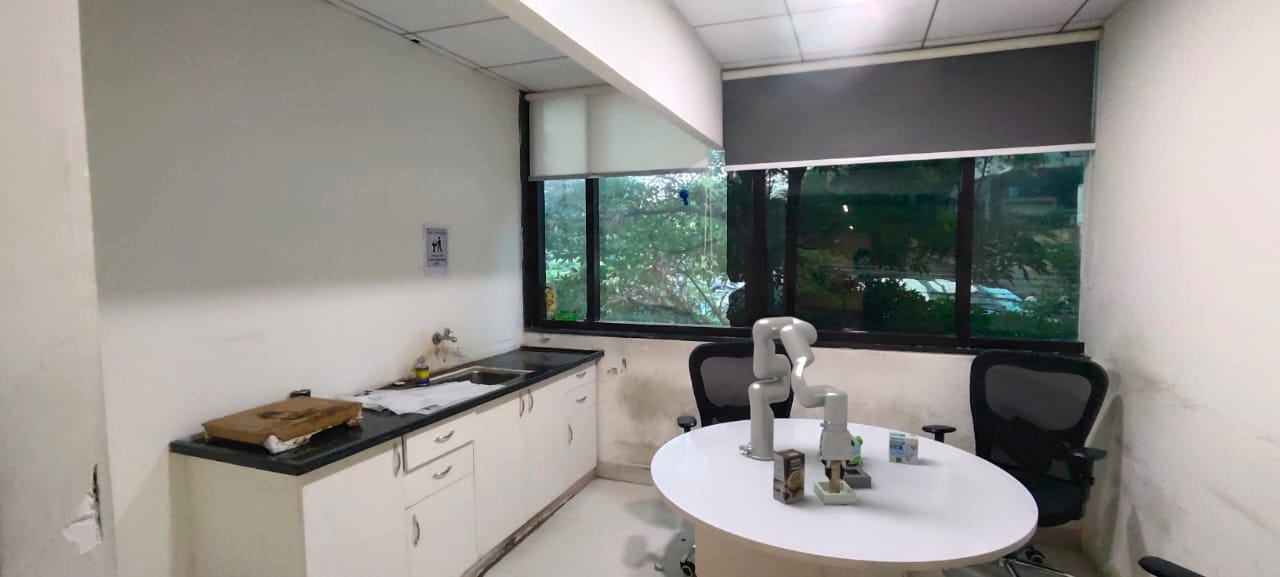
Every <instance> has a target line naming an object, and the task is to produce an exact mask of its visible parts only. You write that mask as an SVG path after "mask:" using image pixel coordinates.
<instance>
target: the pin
mask: <svg viewBox="0 0 1280 577" xmlns="http://www.w3.org/2000/svg"><path fill="white" fill-rule="evenodd" d="M841 464H842V460H840V461H831V463H830V468H831V479H828V481H829V493H840V465H841Z"/></svg>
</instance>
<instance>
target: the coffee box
mask: <svg viewBox="0 0 1280 577" xmlns="http://www.w3.org/2000/svg"><path fill="white" fill-rule="evenodd" d="M805 471H806V454H805V453H804V452H802V451H800V450H796V449H794V448H790V449H785V450H781V451H776V452H775V453H774V459H773V481H772V482H773V484H772V485H773V486H772V498H773V499H776V500H778V501H779V502H781V503H783V504H784V505H786V504H789V503H793V501H794V502H797V501H799V500H804V499H805V480H806V479H805V476H806V475H805V474H806V473H805Z"/></svg>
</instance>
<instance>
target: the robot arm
mask: <svg viewBox="0 0 1280 577" xmlns="http://www.w3.org/2000/svg"><path fill="white" fill-rule="evenodd" d="M774 339H775V340H776V339H780V340H781V343H782V344H783V347H784V348H785V351H786V353H787V355H788V357H789V358H788V357H787V356H786V355H785V354H779V353H778V354H777V353H776V344H775V342H774V341H773V340H774ZM817 339H818V333H817V330H816V328H815V327H814V325H813V324H811V323H810V322H807V321H804V320H802V319H799V318H797V317H793V316H780V317H779V316H778V317H765V318H760V319H758V320H756V321H755V323H753V326H752V340H753V344H754V345H753V363H752V368H753V374H754V376H755V377H756V378H758V379H763V380H758V381H754V382H753V383H751V384H750V385H749V386H748V391H747V392H748V398H749V405H750V441H749V442H748V443H747V444H746V445H745V444H739V446H738V447H739V448H738V450H740V451H741V450H742V451H743V452H746V455H747V456H748V458H751V459H753V460H757V461H758V460H759V461H771V460H774V453H775V452H777V450H775V449H774V446H775V444H774V440H775V438H774V437H775V436H774V435H775V433H774V432H775V419H774V418H775V415H774V411H773V410H772V408H771V407H770V406H771V405H770V404H773V403H781V402H784V401H787V399H788V398H789V395H790V391H791V389H792V391H793V393H794V396H795V397H796V400H797V401H798V403H799V404H800V405H801V406H802V407H803V408H805V409H815V408H823V407H824V408H823V410H824V414H823V417H824V418H823V422H820V424H819V427H820V428H822V429H821V432H820V440H819V446H818V447H819V450H818V452H817V453H816V455H815V456H814V458H815V461H816V460H817V461H818V462H820V463H821V464H822V465H823V466H824V475H825V477H827V479H828V480H829V479H831V468H830V463H831V461H840V460H842V464H841V465H840V478H841V479H843V476H844V473H845V468H846V465H847V464H848V465H850V464H849V462H850V461H852V460H854V459H855V457H854V455H853V454H852V445H851V436H850V434H851V432H850V430H849V429H848V408H849V407H848V405H849V404H848V403H849V401H848V400H849V399H848V394H847V392H845V391H843V390H841V389H837V388H835V387H834V386H832V385H829V384H821V385H812V386H808V385H807V383H806V380H805V378H804V370H805V369H806V368H808V367H810V366H811V365H812V364H813V363H814V361H815V360H816V356H815V354H814V353H813V350H812V348H811V346H810V345H813V344H815V342H816V341H817ZM789 359H790V360H789ZM790 361H791V363H790ZM791 364H792V366H791ZM791 367H792V368H791ZM764 379H765V380H764Z"/></svg>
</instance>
